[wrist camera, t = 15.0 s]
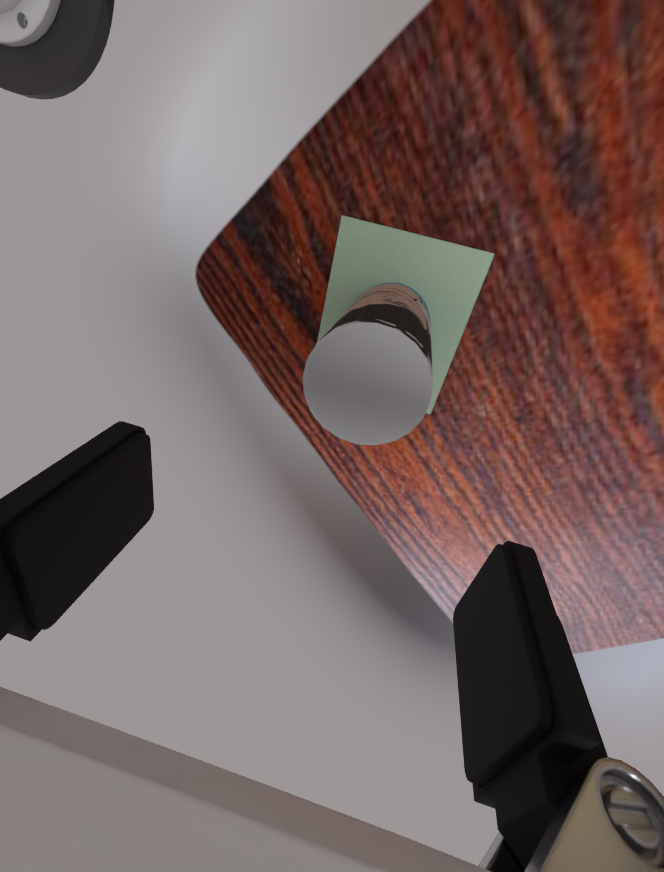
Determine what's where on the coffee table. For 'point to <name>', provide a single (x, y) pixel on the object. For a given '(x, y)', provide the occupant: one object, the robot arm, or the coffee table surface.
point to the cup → (373, 368)
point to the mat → (408, 281)
